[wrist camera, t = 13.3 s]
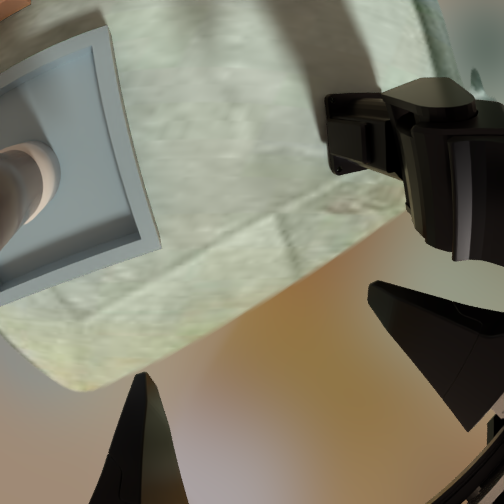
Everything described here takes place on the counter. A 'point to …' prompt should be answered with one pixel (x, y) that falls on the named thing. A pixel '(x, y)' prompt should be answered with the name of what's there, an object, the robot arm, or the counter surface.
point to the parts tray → (74, 166)
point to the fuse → (25, 184)
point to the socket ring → (11, 7)
